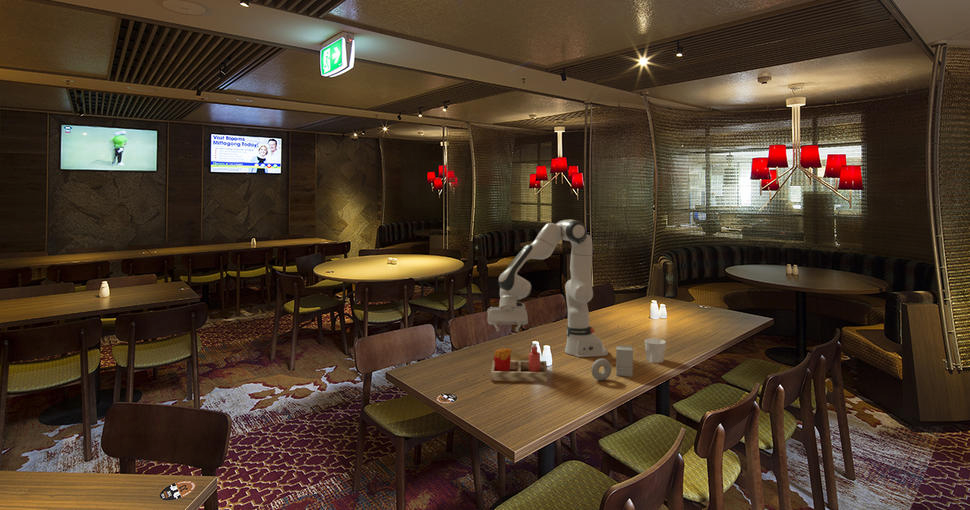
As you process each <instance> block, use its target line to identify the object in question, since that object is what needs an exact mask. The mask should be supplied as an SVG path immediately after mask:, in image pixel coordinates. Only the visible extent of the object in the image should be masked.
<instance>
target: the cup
mask: <svg viewBox="0 0 970 510" xmlns="http://www.w3.org/2000/svg"><path fill="white" fill-rule="evenodd" d="M644 346H645V347H644V348H645V359H646V360H645V361H647V362H650V363H655V364H659V363H663V362H664V355H665V349H666V341H665V340H664V339H662V338H661V339H660V338H654V337H653V338H652V337H651V338H646V339H644Z"/></svg>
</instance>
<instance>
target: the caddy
mask: <svg viewBox="0 0 970 510" xmlns="http://www.w3.org/2000/svg"><path fill="white" fill-rule="evenodd" d="M491 364H492V365H491V370H490V381H493V382H494V381H497V382H502V381H503V382H540V383H541V382H543V383H546V382H548V381H549V380H548V374H549V373H548V365H547V361H546V360H540V372H529V360H510V369H509V371H495V364H494V359H493V360H492V363H491ZM511 370H517V371H511ZM523 370H525V371H523ZM526 370H528V371H526Z"/></svg>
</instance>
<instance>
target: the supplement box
mask: <svg viewBox="0 0 970 510" xmlns="http://www.w3.org/2000/svg"><path fill="white" fill-rule="evenodd" d="M615 349H616V350H615V352H616V355H615V358H616V359H615V361H616V363H615V365H616V366H615V367H616V368H615V370H616V371H615V374H616V376H620V377H621V376H622V377H630V378H632V377H633V372H634V362H633V361H634V348H633V345H622V344H621V345H620V344H617V345H616V348H615Z"/></svg>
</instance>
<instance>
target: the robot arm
mask: <svg viewBox="0 0 970 510" xmlns="http://www.w3.org/2000/svg"><path fill="white" fill-rule="evenodd" d="M561 240H562V241H567V242H570V244H571V249H570V250H571V251H570V261H569V262H570V263H569V271H570V279H568V280H567V281H566V283H565V285H564V288H565V289H564V290H565V300H566V307H567V326H566V337H567V338H566V342H565V343H566V345H565V348H564V353H566V354H568V355H571V356H575V357H578V358H587V357H588V358H590V357H606V356H608V354H609V353H608V350H607V348H605V347H604V343H603V341H602V340H601V338H599V337H598V335H596V334H594V332H595V328H593V327H592V326H591V325H590V321H589V320H590V312H589V307H588V303H589V302H591V301H592V299H593V297H594V290H593V279H592V278H593V277H592V262H593V249H594V248H593V239H592V237H591V235H590V234H588V232H587V228H586V225H585V224H584V222H582V221H580V220H576V219H560V220H558V221H556V222H555V223H553V222H547V223H546V224H545V225H544V226H543V227H542V228H541V230H539V232H538V234H537V236H536V237H535V239H534V240H533V241H532V242H531V243H530V244H526V245H524V247H523V248H521V250H520V251H519V252H518V253H517V254H516V256H515V257H514V259H512V261H511V262H510V263H509V265H507V268H505V269H504V270H503V271H502V272H501V273H500V274H499V277H498V280H497V281H498V286H499V297H500V299H499V301H498V302H499V304H498V306H490V307H489V308H487V310H486V311H487V312H486V313H487V323H488V324H489V325H494V327H495V330H496V332H500V326H498V325H517V326H515V332H519V329H520V328H521V327H522V325H527V324H528V322H529V319H528V318H529V317H528V312H527V309H526V305H525V303H523V302H521V301H520V300H523V299H525V298H528V297H529V295H530V294H531V292H532V284H531V282H530V281H529V280H527V279H526V278H524V277H522V276H520V275H519V274H518V272H519V271H520V269H521V268H522V267H523V265H524V264H525V263H526V262H527V261H529V260H530V259H531V260H532V259H534V260H545V259H548V258H549V257H551V255H552V254H553V252H554V251H555V249H556V248H557V245H558V244H559V242H560V241H561ZM518 300H519V301H518Z"/></svg>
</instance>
